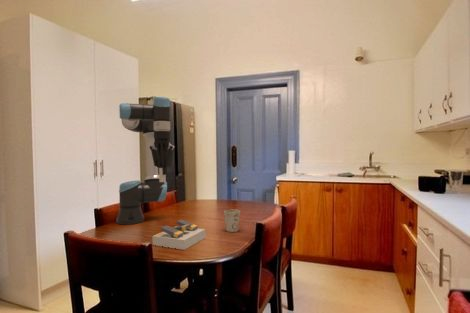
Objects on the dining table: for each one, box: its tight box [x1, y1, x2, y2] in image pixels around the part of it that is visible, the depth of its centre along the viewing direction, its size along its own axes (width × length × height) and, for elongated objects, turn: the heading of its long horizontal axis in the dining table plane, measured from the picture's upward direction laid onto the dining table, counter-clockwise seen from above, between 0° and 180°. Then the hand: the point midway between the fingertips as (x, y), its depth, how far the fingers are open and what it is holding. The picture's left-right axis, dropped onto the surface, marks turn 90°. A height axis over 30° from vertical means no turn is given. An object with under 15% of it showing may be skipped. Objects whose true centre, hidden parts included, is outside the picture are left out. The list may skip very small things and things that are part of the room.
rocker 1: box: [160, 224, 184, 238], centre depth 126 cm, size 9×4×1 cm, turn 67°
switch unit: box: [152, 225, 206, 251], centre depth 132 cm, size 16×18×5 cm
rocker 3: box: [176, 219, 199, 231], centre depth 138 cm, size 9×4×1 cm, turn 67°
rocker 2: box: [171, 224, 191, 230], centre depth 132 cm, size 9×4×1 cm, turn 67°
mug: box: [223, 208, 241, 233], centre depth 152 cm, size 8×13×10 cm, turn 27°
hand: (162, 181), depth 136 cm, fingers closed
